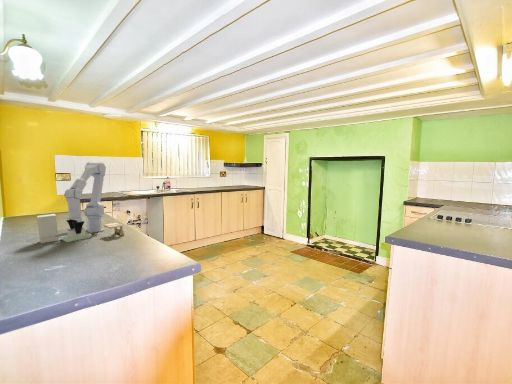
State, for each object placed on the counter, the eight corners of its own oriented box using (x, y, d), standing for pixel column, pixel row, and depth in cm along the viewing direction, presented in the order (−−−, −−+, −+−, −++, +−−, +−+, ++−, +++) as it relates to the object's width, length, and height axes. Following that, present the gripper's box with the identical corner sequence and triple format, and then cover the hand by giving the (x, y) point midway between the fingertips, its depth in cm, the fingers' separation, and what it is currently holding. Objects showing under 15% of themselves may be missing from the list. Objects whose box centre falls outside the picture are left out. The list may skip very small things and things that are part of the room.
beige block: (104, 235, 156) (103, 224, 155) (117, 232, 162) (117, 222, 162) (110, 238, 151) (109, 227, 150) (124, 235, 157) (123, 224, 156)
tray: (61, 239, 148) (60, 235, 148) (85, 234, 158) (85, 231, 158) (67, 242, 142) (66, 238, 142) (91, 237, 152) (91, 234, 152)
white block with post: (54, 240, 144) (53, 231, 144) (82, 235, 155) (81, 226, 154) (56, 242, 141) (56, 233, 140) (85, 237, 151) (84, 228, 150)
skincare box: (58, 238, 149) (56, 213, 148) (58, 241, 145) (56, 215, 143) (39, 241, 144) (37, 215, 142) (39, 243, 140) (36, 216, 138)
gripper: (61, 208, 150) (63, 231, 151) (70, 211, 141) (72, 236, 142) (76, 207, 155) (77, 229, 157) (85, 210, 146) (86, 233, 148)
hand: (76, 232), depth 150 cm, fingers open, 7 cm apart
